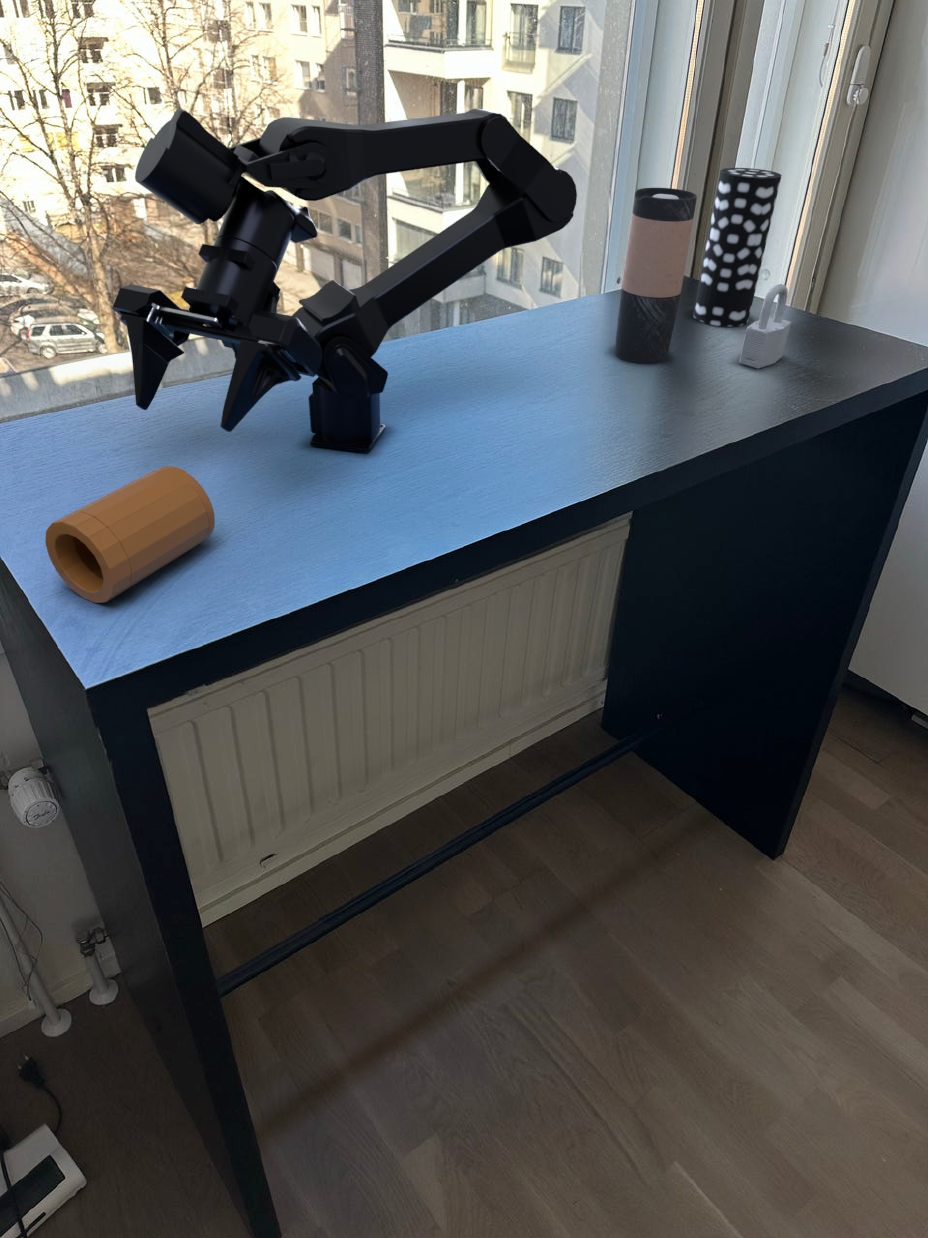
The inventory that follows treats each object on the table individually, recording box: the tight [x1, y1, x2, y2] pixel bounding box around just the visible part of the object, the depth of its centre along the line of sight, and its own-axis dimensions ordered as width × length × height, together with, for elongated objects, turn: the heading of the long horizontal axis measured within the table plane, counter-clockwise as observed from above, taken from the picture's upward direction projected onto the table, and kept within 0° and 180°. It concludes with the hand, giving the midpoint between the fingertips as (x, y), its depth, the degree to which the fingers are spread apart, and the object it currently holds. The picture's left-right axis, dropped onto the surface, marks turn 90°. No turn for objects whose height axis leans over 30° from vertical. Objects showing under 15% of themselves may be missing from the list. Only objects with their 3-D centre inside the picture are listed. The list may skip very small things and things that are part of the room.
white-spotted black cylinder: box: [692, 167, 783, 328], centre depth 126 cm, size 8×8×20 cm
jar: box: [45, 465, 216, 604], centre depth 68 cm, size 7×7×11 cm
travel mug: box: [614, 187, 698, 365], centre depth 111 cm, size 8×8×20 cm
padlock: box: [738, 283, 792, 369], centre depth 114 cm, size 7×4×10 cm, turn 137°
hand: (182, 418), depth 75 cm, fingers open, 9 cm apart
